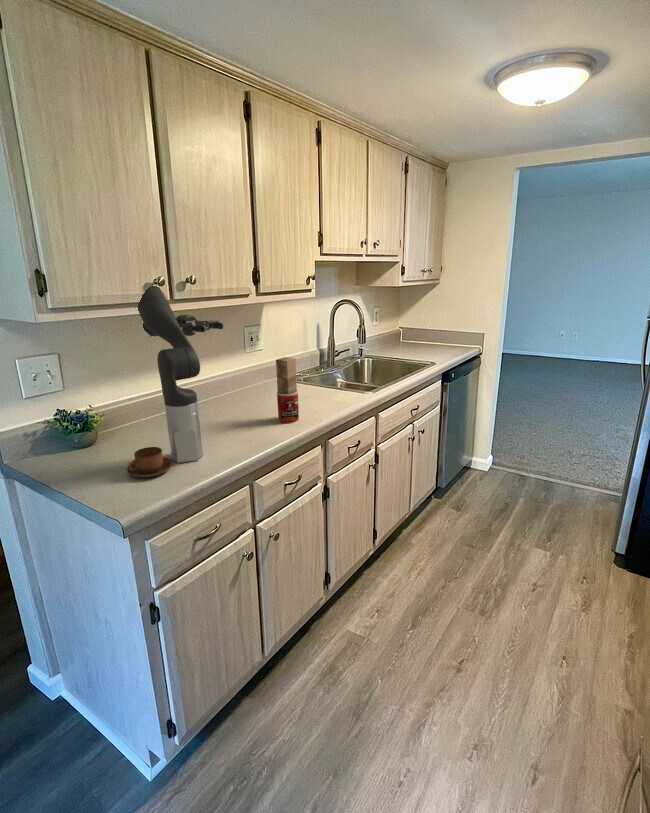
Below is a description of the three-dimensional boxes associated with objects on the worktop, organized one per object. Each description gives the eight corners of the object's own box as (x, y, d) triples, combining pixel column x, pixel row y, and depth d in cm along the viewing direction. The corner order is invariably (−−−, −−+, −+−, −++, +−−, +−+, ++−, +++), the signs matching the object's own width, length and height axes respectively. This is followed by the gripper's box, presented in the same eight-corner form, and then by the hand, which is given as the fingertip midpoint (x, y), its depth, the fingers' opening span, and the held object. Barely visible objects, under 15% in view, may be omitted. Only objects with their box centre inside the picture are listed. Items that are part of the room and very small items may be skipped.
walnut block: (296, 390, 171) (295, 358, 167) (288, 393, 167) (286, 360, 163) (286, 389, 174) (284, 357, 170) (277, 392, 170) (275, 359, 166)
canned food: (280, 424, 169) (278, 395, 166) (276, 417, 176) (275, 389, 173) (301, 422, 171) (299, 393, 168) (296, 415, 178) (295, 387, 175)
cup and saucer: (155, 483, 125) (153, 462, 124) (118, 478, 129) (115, 457, 127) (181, 465, 136) (179, 445, 135) (146, 461, 140) (143, 442, 138)
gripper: (164, 316, 163) (197, 318, 155) (195, 312, 175) (227, 314, 166) (167, 338, 166) (199, 341, 157) (197, 332, 177) (229, 335, 169)
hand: (213, 327), depth 162 cm, fingers open, 8 cm apart
